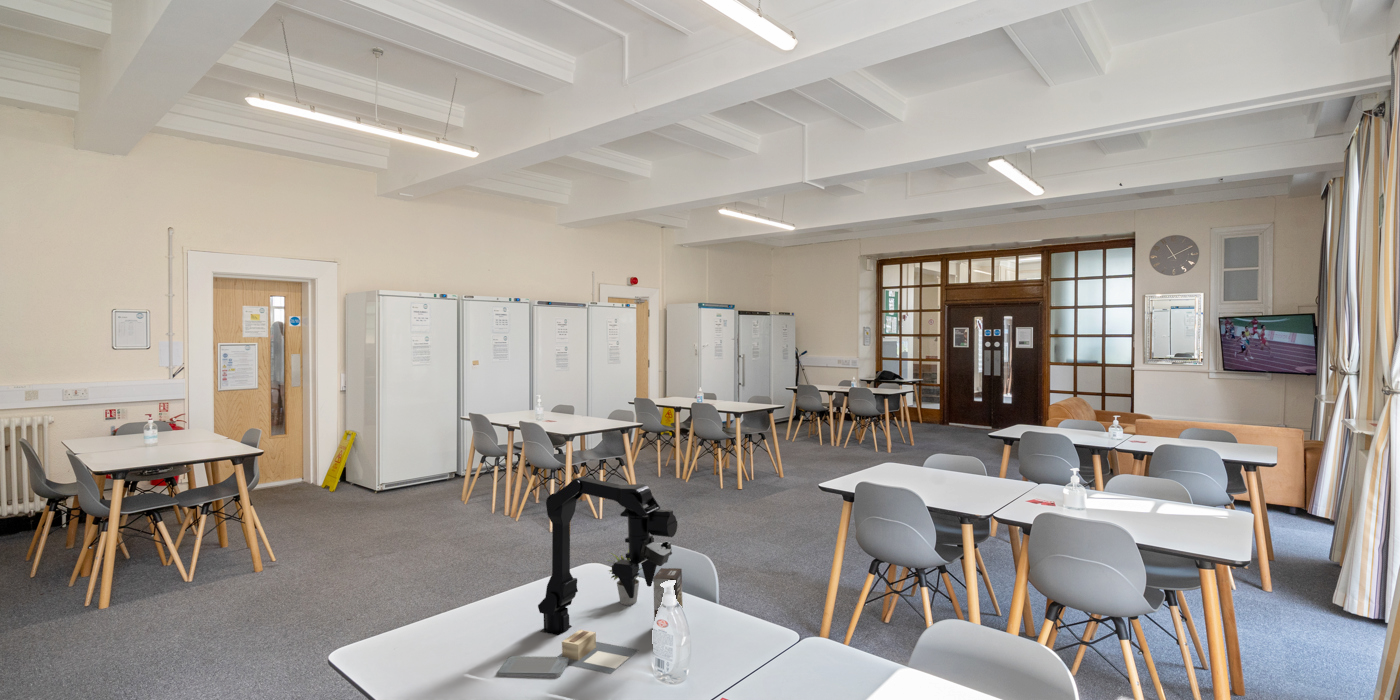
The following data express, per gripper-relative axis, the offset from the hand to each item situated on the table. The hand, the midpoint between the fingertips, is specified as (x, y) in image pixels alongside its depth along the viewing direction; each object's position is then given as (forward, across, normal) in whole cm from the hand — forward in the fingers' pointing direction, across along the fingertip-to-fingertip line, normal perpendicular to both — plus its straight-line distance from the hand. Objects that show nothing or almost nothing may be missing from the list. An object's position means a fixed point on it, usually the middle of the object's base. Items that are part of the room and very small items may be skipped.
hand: (640, 591), depth 180 cm
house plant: (+15, +27, +22) cm, 37 cm away
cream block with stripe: (+14, -10, +13) cm, 22 cm away
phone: (+14, -22, +18) cm, 32 cm away
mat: (+15, -10, +8) cm, 19 cm away
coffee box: (+15, +12, -2) cm, 19 cm away
